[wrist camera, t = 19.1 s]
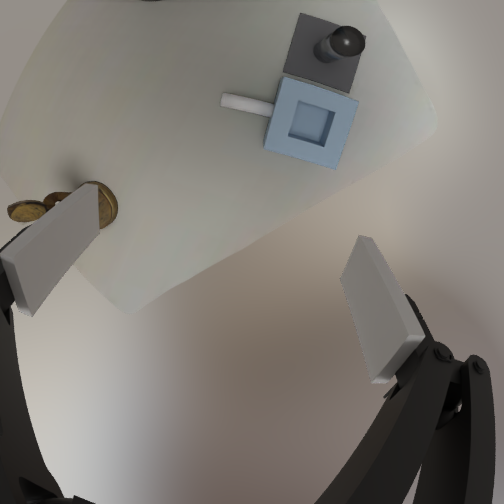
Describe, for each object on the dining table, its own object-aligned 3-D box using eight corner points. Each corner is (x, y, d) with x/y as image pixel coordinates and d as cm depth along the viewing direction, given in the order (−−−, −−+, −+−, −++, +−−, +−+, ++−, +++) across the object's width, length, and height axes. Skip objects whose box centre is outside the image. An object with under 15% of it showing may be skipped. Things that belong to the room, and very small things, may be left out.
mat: (300, 13, 30) (300, 12, 30) (365, 36, 31) (366, 36, 31) (282, 71, 35) (283, 71, 35) (348, 93, 36) (349, 93, 36)
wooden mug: (87, 151, 42) (20, 191, 27) (126, 214, 48) (76, 274, 33) (58, 176, 44) (-5, 220, 29) (94, 232, 51) (45, 292, 35)
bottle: (310, 58, 34) (328, 48, 24) (316, 37, 32) (336, 21, 22) (334, 66, 34) (360, 61, 24) (340, 45, 32) (368, 33, 22)
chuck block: (232, 66, 35) (228, 63, 30) (346, 99, 37) (358, 101, 32) (217, 130, 40) (210, 137, 35) (326, 158, 42) (335, 170, 37)
